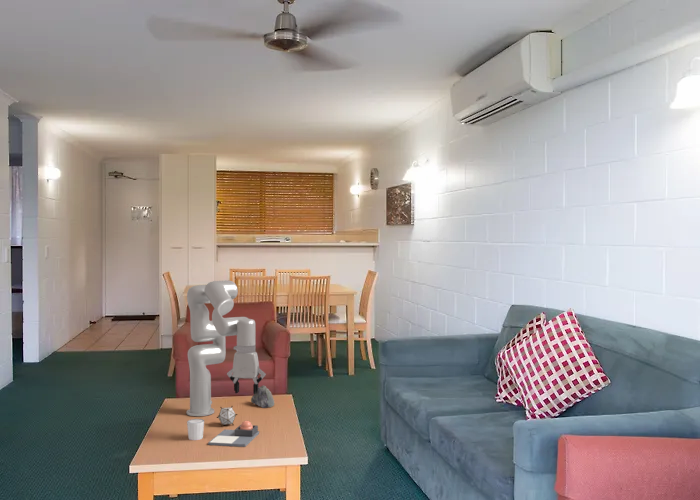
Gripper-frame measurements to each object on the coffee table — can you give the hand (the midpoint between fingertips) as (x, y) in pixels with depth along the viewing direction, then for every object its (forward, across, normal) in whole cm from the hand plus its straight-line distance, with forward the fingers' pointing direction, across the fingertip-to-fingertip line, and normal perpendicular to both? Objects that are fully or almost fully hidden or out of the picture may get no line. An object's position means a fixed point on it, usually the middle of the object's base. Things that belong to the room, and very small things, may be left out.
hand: (246, 392), depth 264 cm
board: (+18, -4, -4) cm, 19 cm away
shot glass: (+18, -20, -6) cm, 27 cm away
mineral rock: (+18, -8, +51) cm, 54 cm away
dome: (+15, 0, 0) cm, 15 cm away
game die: (+18, -14, +14) cm, 27 cm away
